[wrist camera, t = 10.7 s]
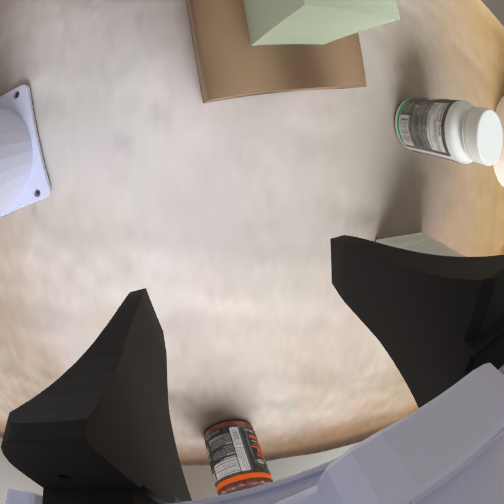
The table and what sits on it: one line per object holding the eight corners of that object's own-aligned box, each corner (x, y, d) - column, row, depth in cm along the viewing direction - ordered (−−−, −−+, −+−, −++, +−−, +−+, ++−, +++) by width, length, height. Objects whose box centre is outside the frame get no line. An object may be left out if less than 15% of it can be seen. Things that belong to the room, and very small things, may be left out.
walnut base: (203, 103, 17) (209, 99, 15) (182, -27, 13) (185, -47, 10) (342, 88, 19) (366, 86, 16) (319, -27, 14) (339, -41, 12)
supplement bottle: (258, 432, 33) (288, 508, 23) (215, 448, 32) (236, 523, 22) (243, 411, 30) (274, 499, 20) (194, 428, 29) (214, 516, 19)
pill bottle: (435, 119, 22) (510, 133, 14) (416, 160, 23) (492, 184, 16) (405, 86, 20) (486, 89, 12) (384, 130, 21) (467, 145, 14)
